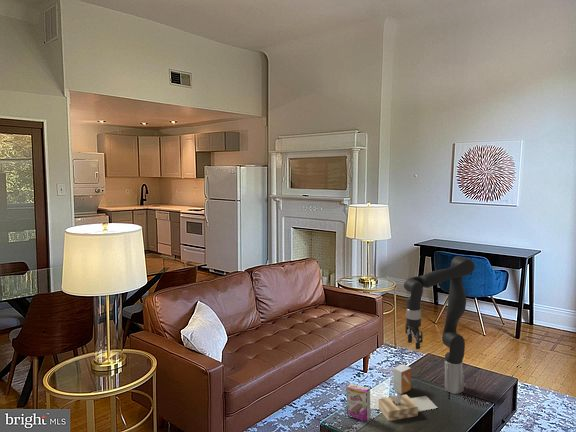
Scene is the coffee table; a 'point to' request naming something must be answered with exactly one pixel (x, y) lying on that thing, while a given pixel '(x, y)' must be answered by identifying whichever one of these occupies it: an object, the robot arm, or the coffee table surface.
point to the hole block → (398, 408)
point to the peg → (397, 398)
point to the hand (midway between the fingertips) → (413, 345)
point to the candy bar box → (358, 402)
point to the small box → (402, 378)
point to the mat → (424, 403)
